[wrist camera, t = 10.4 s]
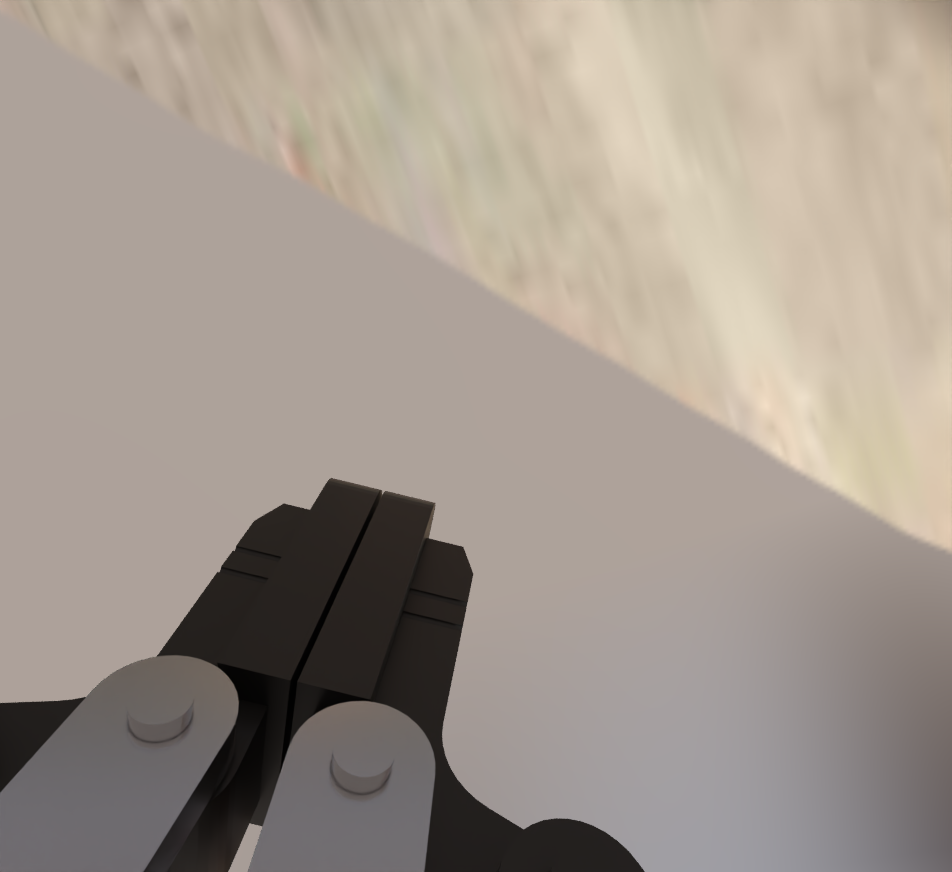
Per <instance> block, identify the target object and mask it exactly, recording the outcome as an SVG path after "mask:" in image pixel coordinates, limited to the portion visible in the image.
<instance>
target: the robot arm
mask: <svg viewBox="0 0 952 872" xmlns="http://www.w3.org/2000/svg"><path fill="white" fill-rule="evenodd" d="M434 510H435V503H433V502H429V501H425V500H421V499H417V498H413V497H408V496H404V495H400V494H396V493H392V492H388V491H385V492H384V493H383V495H382V490H379V489H374V488H370V487H366V486H362V485H358V484H354V483H350V482H345V481H341V480H337V479H333V478H331V479H329V480H328V482H327V483H326V485H325V486H324V488H323V490H322V491H321V493H320V494H319V496H318V498H317V499H316V501H315V503H314V504H313V506H312V508H311V509H310V510H308V509H304V508H300V507H295V506H292V505H287V504H282V505H281V506H279V507H277V508H276V509H274V510H273V511H270V512H269V513H267V514H265V515H264V516H262V517H260V518H258V519H257V520H255V521H254V522H253V523H252V525H251V526H250V528H249V529H248V530H247V532H246V533H245V534H244V536H243V537H242V539H241V540H240V541H239V543H238V544H237V546H236V549H235V551H232V553H231V554H230V556H229V557H228V558H227V560H226V561H225V562H224V564H223V565H222V567H221V570H220V572H217V573H216V575H215V576H214V578H213V579H212V580H211V582H210V583H209V585H208V586H207V587H206V589H205V590H204V592H203V593H202V594H201V596H200V597H199V599H198V600H197V601H196V603H195V604H194V606H193V607H192V608H191V610H190V612H188V614H187V615H186V617H185V618H184V619H183V621H182V622H181V624H180V625H179V627H178V628H177V629H176V631H175V632H174V633H173V635H172V636H171V638H170V639H169V640H168V642H167V643H166V644H165V646H164V647H163V649H162V650H161V651H160V653H159V654H158V655H157V657H152V658H148V659H144V660H140V661H137V662H135V663H132V664H129V665H127V666H125V667H123V668H121V669H119V670H117V671H115V672H114V673H112V674H111V675H110V676H108V677H107V678H106V679H104V680H103V681H101V682H100V683H99V684H98V685H97V686H96V687H95V688H94V689H93V690H92V691H91V692H90V693H89V695H88V696H87V697H84V698H78V699H73V700H63V701H45V702H18V703H0V872H228V871H229V869H230V867H231V864H232V862H233V860H234V857H235V855H236V853H237V850H238V848H239V846H240V844H241V841H242V839H243V837H244V834H245V832H246V830H247V827H248V825H249V823H251V824H255V825H260V826H263V827H262V830H261V833H260V836H259V839H258V842H257V845H256V848H255V851H254V854H253V857H252V860H251V863H250V866H249V869H248V872H644V870H643V869H642V868H641V866H640V865H639V863H638V862H637V861H636V860H635V859H634V857H633V856H632V855H631V854H630V853H629V851H628V850H627V849H626V848H624V847H623V846H622V845H621V844H620V843H619V842H618V841H617V840H615V839H614V838H613V837H611V836H610V835H608V834H607V833H606V832H604V831H602V830H600V829H598V828H596V827H594V826H592V825H589V824H587V823H584V822H581V821H576V820H571V819H549V820H543V821H540V822H538V823H535V824H532V825H531V826H529V827H527V828H526V829H524V830H523V829H522V828H520V827H519V826H517V825H515V824H513V823H512V822H510V821H509V820H507V819H505V818H504V817H502V816H500V815H499V814H497V813H496V812H494V811H492V810H491V809H489V808H487V807H486V806H485V805H483V804H482V803H480V802H479V801H477V800H476V799H475V798H474V797H473V796H472V795H471V794H470V793H469V792H468V791H467V790H466V789H465V788H464V787H463V786H462V785H461V783H460V782H459V781H458V780H457V778H456V777H455V775H454V773H453V772H452V770H451V768H450V766H449V764H448V761H447V759H446V756H445V753H444V748H443V742H442V729H443V721H444V716H445V711H446V706H447V701H448V696H449V691H450V687H451V681H452V676H453V671H454V666H455V662H456V657H457V652H458V647H459V642H460V637H461V632H462V627H463V622H464V617H465V612H466V606H467V602H468V597H469V592H470V588H471V582H472V577H473V572H472V570H471V567H470V564H469V561H468V559H467V556H466V553H465V551H464V548H463V547H461V546H457V545H453V544H449V543H445V542H441V541H437V540H433V539H429V534H430V530H431V524H432V520H433V515H434Z"/></svg>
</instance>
